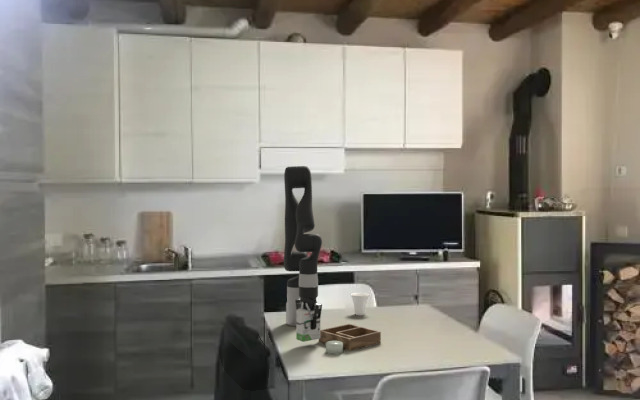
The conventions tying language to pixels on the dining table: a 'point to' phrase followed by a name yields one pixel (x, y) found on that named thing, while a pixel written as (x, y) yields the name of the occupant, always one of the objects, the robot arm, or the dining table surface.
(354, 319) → the dining table surface
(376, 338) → the organizer
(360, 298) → the cup
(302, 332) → the ink box
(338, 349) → the white domed round part
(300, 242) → the robot arm
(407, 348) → the dining table surface
